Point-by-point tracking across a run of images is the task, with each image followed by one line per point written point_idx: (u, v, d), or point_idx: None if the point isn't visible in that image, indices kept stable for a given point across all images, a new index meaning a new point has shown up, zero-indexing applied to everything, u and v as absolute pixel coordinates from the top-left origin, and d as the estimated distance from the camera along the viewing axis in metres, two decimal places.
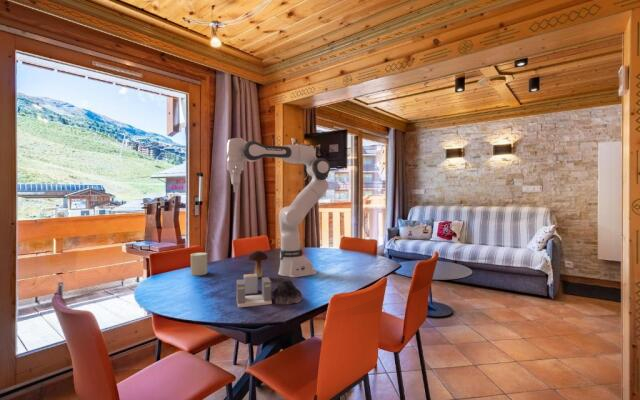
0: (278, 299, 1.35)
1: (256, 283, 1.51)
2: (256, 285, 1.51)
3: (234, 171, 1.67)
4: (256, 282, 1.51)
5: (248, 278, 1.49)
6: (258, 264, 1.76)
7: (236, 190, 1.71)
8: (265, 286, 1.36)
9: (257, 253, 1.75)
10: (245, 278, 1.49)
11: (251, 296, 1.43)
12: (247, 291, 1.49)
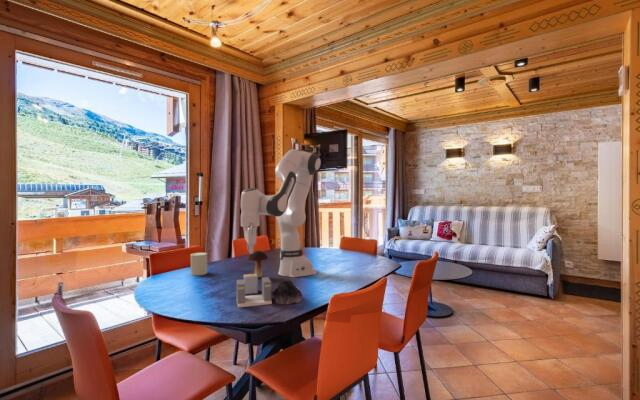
0: (278, 299, 1.36)
1: (256, 283, 1.51)
2: (256, 285, 1.51)
3: (249, 230, 1.43)
4: (256, 282, 1.51)
5: (248, 278, 1.49)
6: (258, 264, 1.76)
7: (251, 251, 1.47)
8: (265, 286, 1.36)
9: (257, 253, 1.75)
10: (245, 278, 1.49)
11: (251, 296, 1.43)
12: (247, 291, 1.49)
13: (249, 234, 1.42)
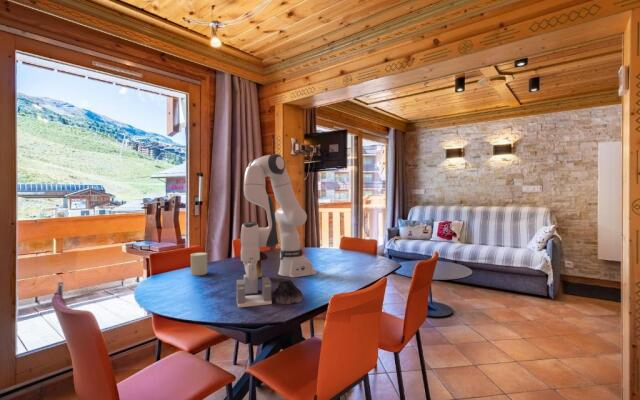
0: (279, 299, 1.36)
1: (256, 283, 1.51)
2: (256, 285, 1.51)
3: (250, 267, 1.43)
4: (256, 282, 1.51)
5: None
6: (258, 264, 1.76)
7: (251, 285, 1.49)
8: (265, 286, 1.36)
9: None
10: (245, 278, 1.49)
11: (251, 296, 1.43)
12: (247, 291, 1.49)
13: (249, 270, 1.43)
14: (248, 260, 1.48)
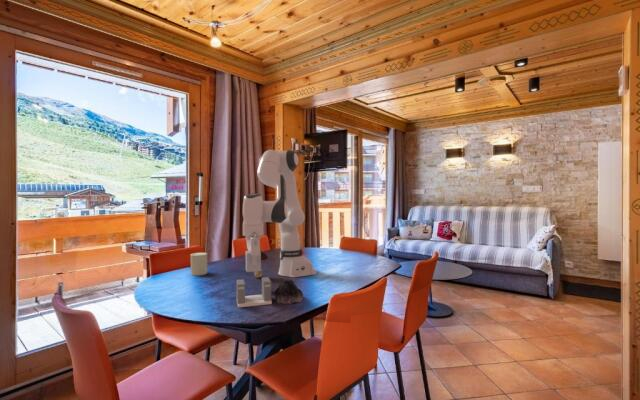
0: (279, 298, 1.36)
1: (259, 260, 1.37)
2: (259, 262, 1.37)
3: (253, 241, 1.29)
4: (259, 259, 1.37)
5: (250, 254, 1.36)
6: None
7: (254, 262, 1.35)
8: (265, 286, 1.36)
9: None
10: (247, 254, 1.35)
11: (251, 296, 1.43)
12: (249, 268, 1.36)
13: (252, 245, 1.29)
14: (251, 234, 1.34)
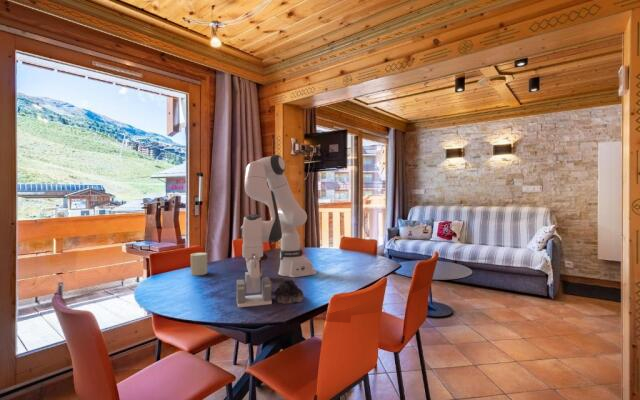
0: (280, 298, 1.36)
1: (259, 281, 1.37)
2: (259, 284, 1.37)
3: (252, 263, 1.29)
4: (259, 280, 1.37)
5: None
6: None
7: (254, 284, 1.35)
8: (265, 286, 1.36)
9: None
10: (247, 276, 1.36)
11: (251, 296, 1.43)
12: (249, 290, 1.36)
13: (252, 267, 1.29)
14: (250, 256, 1.34)
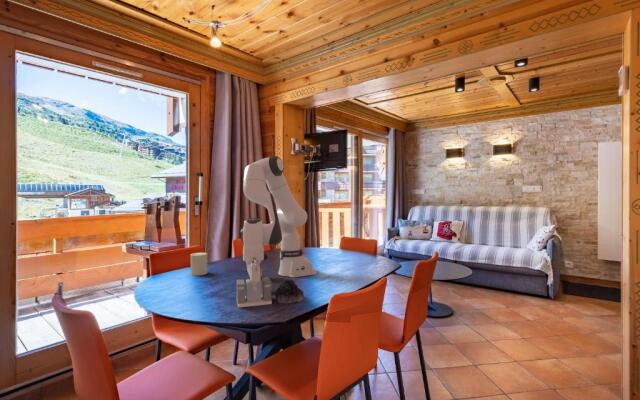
0: (280, 298, 1.37)
1: (260, 289, 1.37)
2: (260, 291, 1.37)
3: (253, 267, 1.30)
4: (260, 288, 1.37)
5: (251, 283, 1.36)
6: None
7: (255, 288, 1.34)
8: (265, 286, 1.36)
9: None
10: (248, 283, 1.36)
11: None
12: (250, 298, 1.36)
13: (252, 271, 1.29)
14: (251, 260, 1.34)
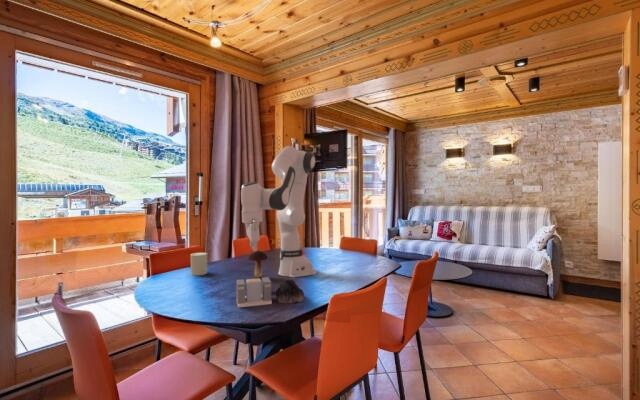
0: (281, 298, 1.37)
1: (260, 289, 1.37)
2: (260, 291, 1.37)
3: (252, 227, 1.34)
4: (260, 288, 1.37)
5: (251, 283, 1.36)
6: (258, 264, 1.76)
7: (255, 248, 1.39)
8: (265, 286, 1.36)
9: (257, 253, 1.75)
10: (248, 283, 1.36)
11: None
12: (250, 298, 1.36)
13: (252, 230, 1.34)
14: (250, 221, 1.39)
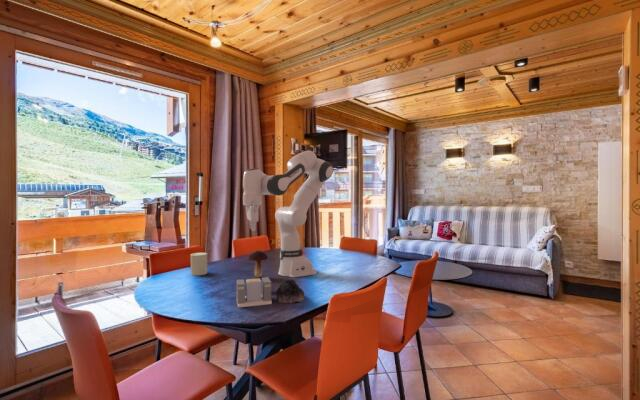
0: (281, 298, 1.37)
1: (260, 289, 1.37)
2: (260, 291, 1.37)
3: (252, 208, 1.47)
4: (260, 288, 1.37)
5: (251, 283, 1.36)
6: (258, 264, 1.76)
7: (254, 229, 1.51)
8: (265, 286, 1.36)
9: (257, 253, 1.75)
10: (248, 283, 1.36)
11: None
12: (250, 298, 1.36)
13: (251, 211, 1.46)
14: (250, 203, 1.51)
